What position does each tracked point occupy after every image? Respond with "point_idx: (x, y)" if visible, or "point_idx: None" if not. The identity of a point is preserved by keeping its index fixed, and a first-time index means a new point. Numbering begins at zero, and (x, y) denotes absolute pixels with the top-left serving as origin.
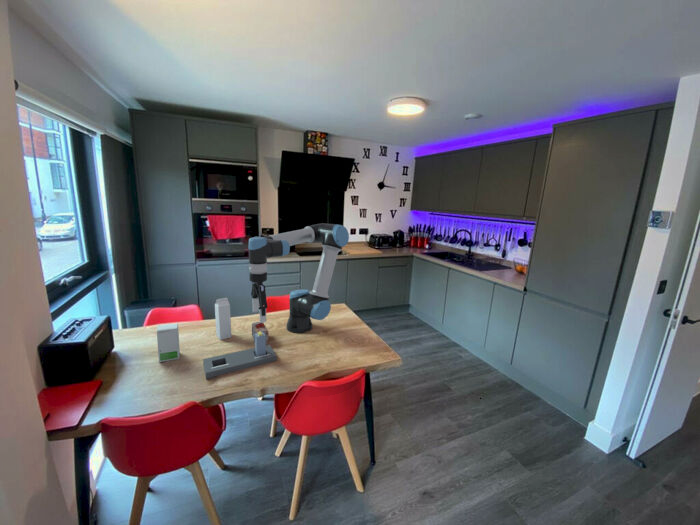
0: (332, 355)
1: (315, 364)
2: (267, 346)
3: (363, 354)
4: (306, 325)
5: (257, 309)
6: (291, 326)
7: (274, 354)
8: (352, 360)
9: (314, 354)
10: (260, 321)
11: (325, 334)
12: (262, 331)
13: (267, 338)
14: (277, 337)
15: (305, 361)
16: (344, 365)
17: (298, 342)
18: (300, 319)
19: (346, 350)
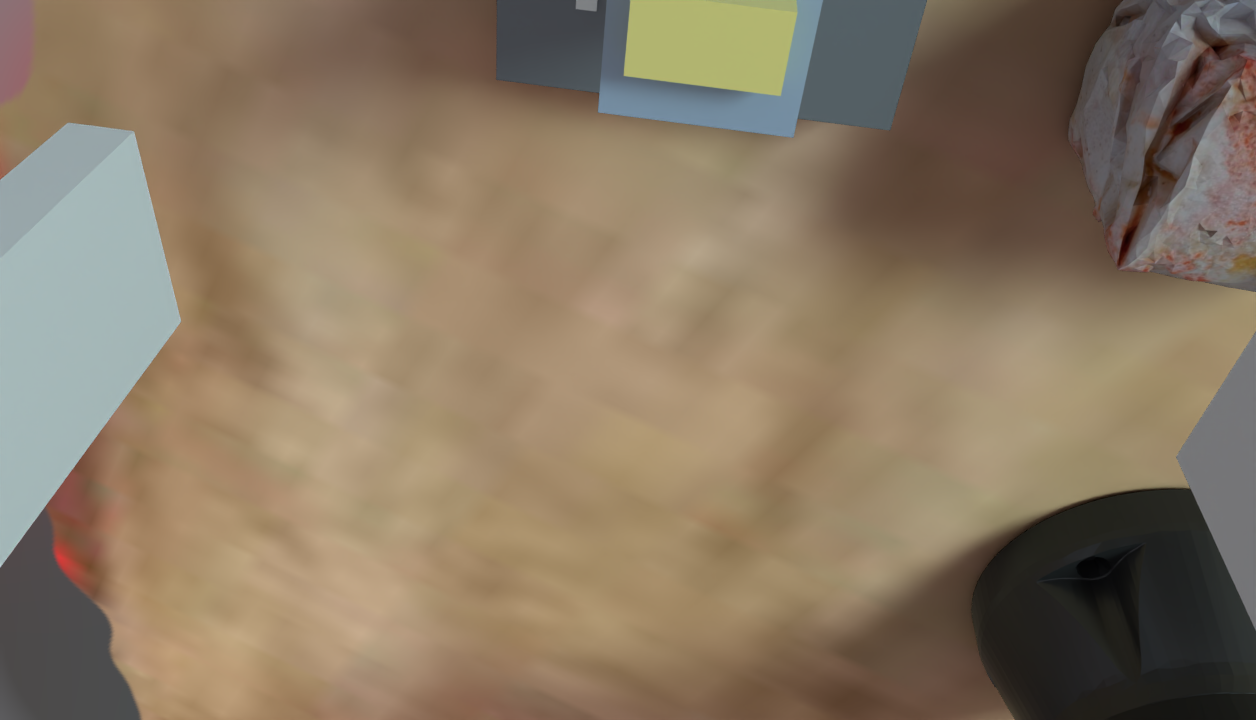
0: (366, 533)
1: (267, 356)
2: (851, 79)
3: (282, 678)
4: (997, 668)
5: (1225, 479)
6: (1141, 559)
7: (548, 69)
8: (222, 591)
9: (461, 436)
10: (48, 160)
11: (781, 673)
12: (1177, 183)
13: (1089, 182)
14: (1135, 318)
15: (364, 311)
16: (164, 517)
17: (809, 439)
18: (1071, 711)
19: (398, 639)
